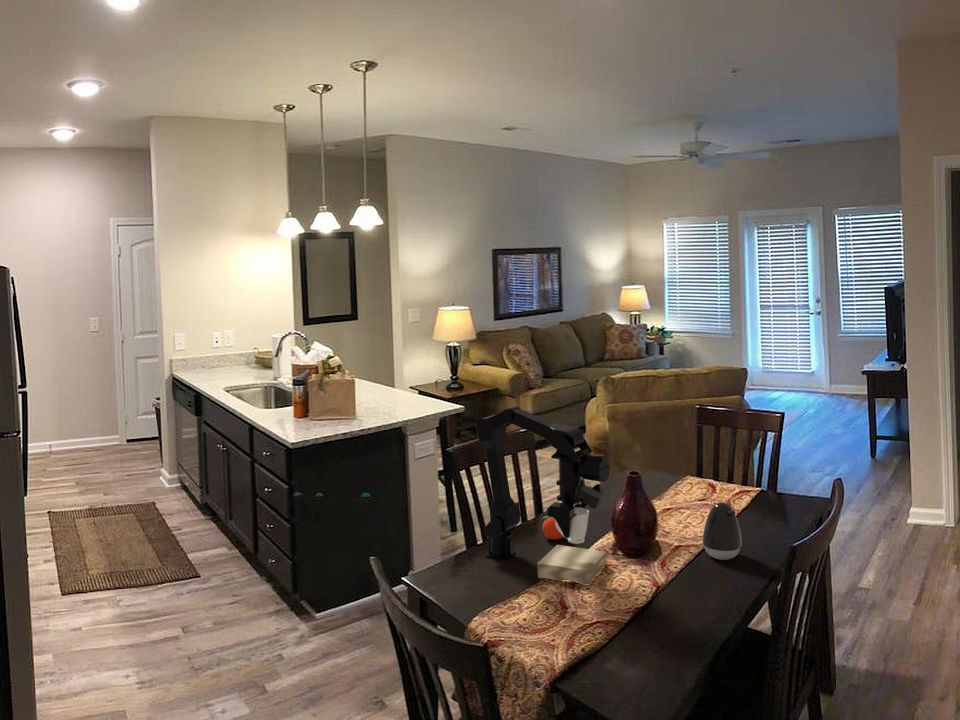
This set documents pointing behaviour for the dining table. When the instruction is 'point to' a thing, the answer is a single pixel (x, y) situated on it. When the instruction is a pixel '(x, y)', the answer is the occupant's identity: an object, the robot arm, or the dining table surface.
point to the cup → (577, 526)
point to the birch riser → (571, 564)
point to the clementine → (551, 528)
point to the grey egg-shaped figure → (722, 532)
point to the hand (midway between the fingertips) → (571, 533)
